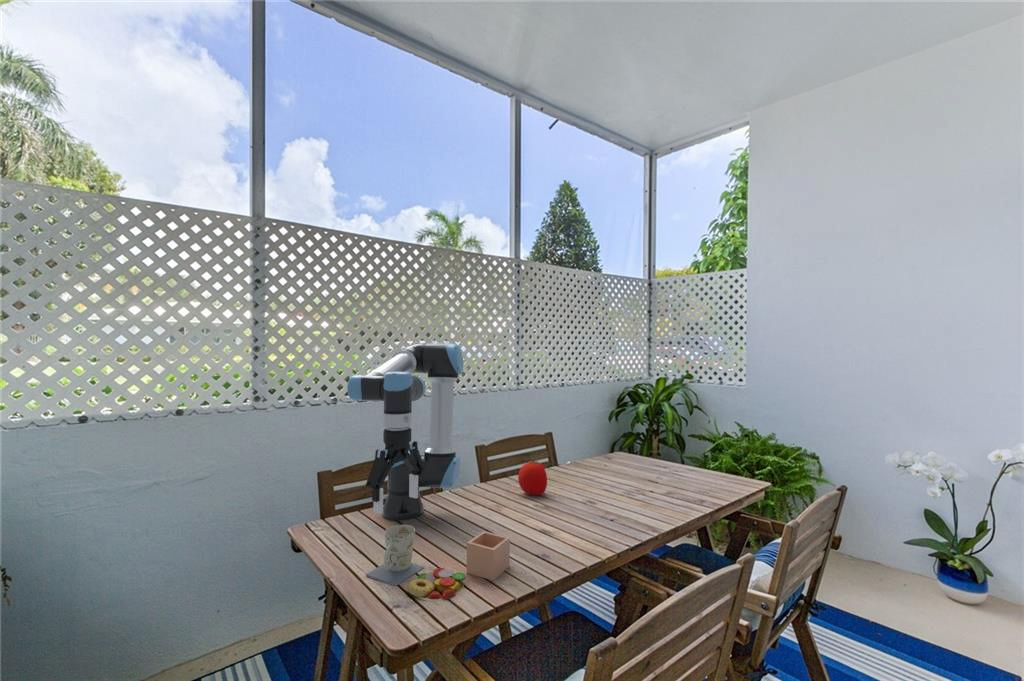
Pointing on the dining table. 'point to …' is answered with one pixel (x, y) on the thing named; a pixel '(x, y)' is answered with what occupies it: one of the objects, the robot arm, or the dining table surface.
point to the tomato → (533, 478)
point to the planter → (488, 555)
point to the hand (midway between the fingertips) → (396, 504)
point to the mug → (399, 547)
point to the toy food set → (437, 584)
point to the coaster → (394, 574)
